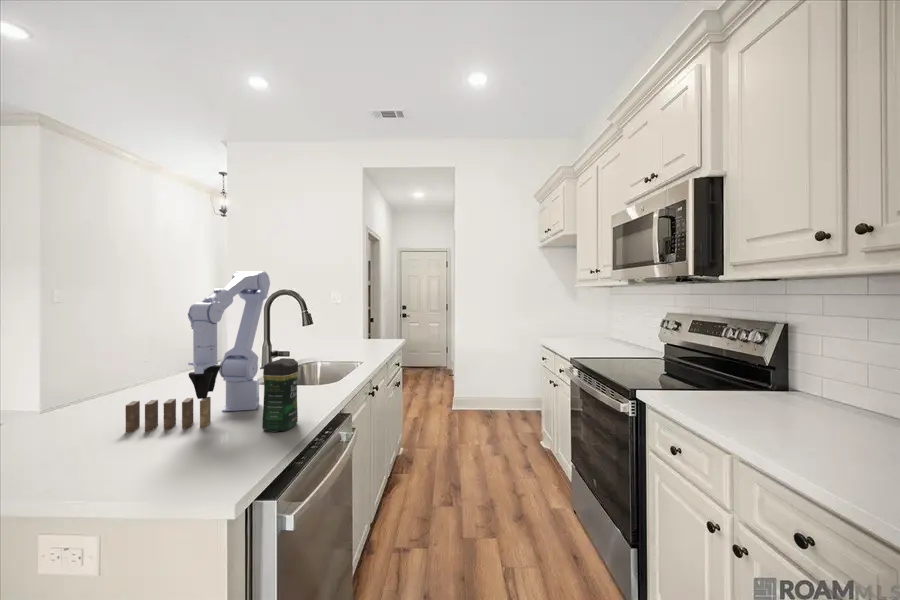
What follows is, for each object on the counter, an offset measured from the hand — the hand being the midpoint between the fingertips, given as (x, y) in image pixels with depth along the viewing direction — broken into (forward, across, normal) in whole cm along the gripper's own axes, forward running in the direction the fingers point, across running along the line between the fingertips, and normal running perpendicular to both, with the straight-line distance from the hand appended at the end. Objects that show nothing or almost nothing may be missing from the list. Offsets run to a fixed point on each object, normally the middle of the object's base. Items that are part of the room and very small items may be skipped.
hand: (205, 394), depth 117 cm
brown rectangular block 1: (+8, 0, -13) cm, 15 cm away
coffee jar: (+8, +8, +20) cm, 23 cm away
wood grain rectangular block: (+8, 0, -17) cm, 19 cm away
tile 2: (+8, 0, -4) cm, 9 cm away
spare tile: (+8, 0, 0) cm, 8 cm away
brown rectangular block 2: (+8, 0, -9) cm, 12 cm away
